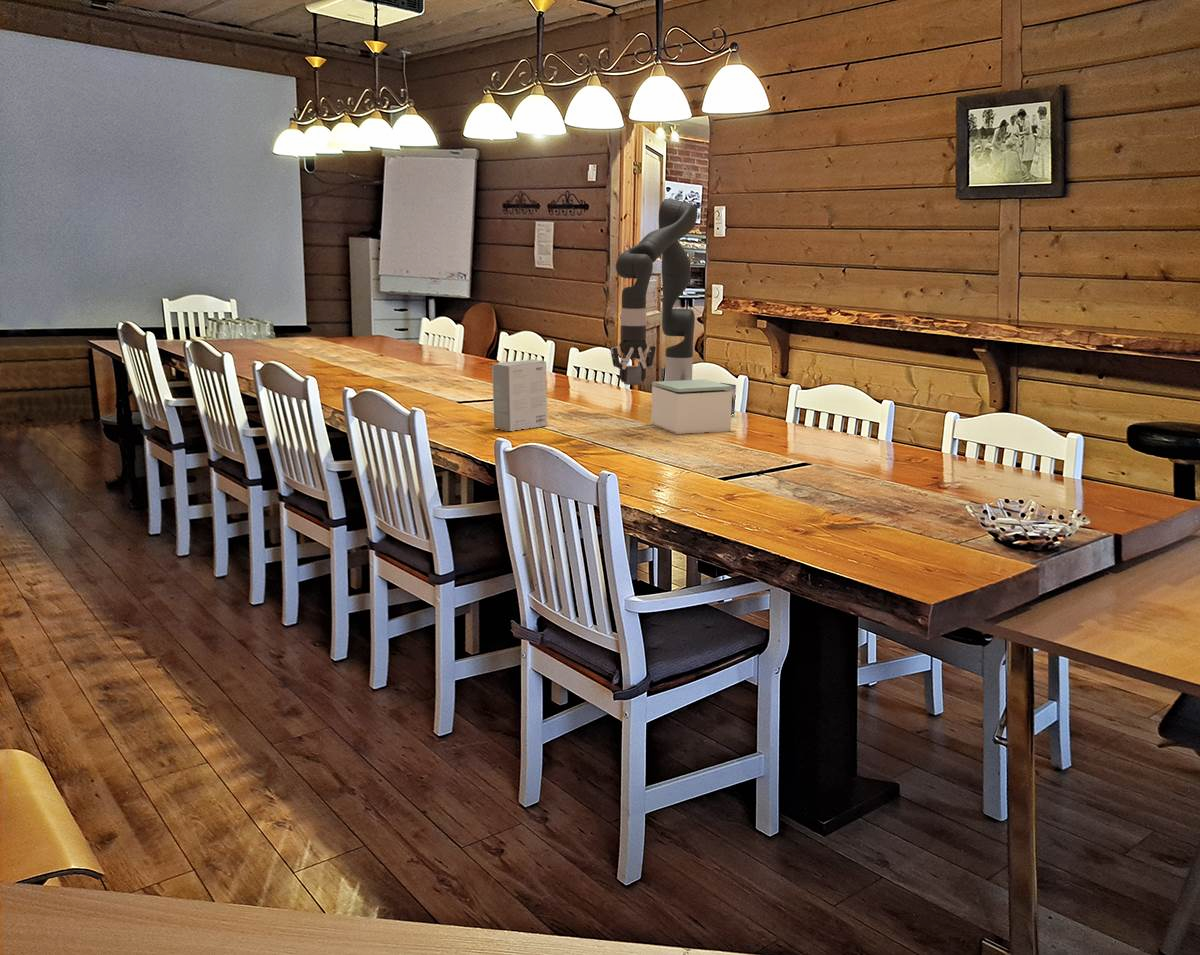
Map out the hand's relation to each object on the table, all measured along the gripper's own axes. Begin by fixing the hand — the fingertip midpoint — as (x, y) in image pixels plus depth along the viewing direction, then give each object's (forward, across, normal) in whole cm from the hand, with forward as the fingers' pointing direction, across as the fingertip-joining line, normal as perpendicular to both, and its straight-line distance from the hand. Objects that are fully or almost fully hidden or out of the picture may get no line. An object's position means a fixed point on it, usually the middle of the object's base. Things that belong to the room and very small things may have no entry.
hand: (632, 381), depth 313 cm
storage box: (+15, -20, -1) cm, 25 cm away
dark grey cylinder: (+1, 0, 0) cm, 1 cm away
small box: (+16, -38, -16) cm, 44 cm away
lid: (+3, -20, -1) cm, 20 cm away
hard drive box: (+16, +29, -18) cm, 37 cm away
